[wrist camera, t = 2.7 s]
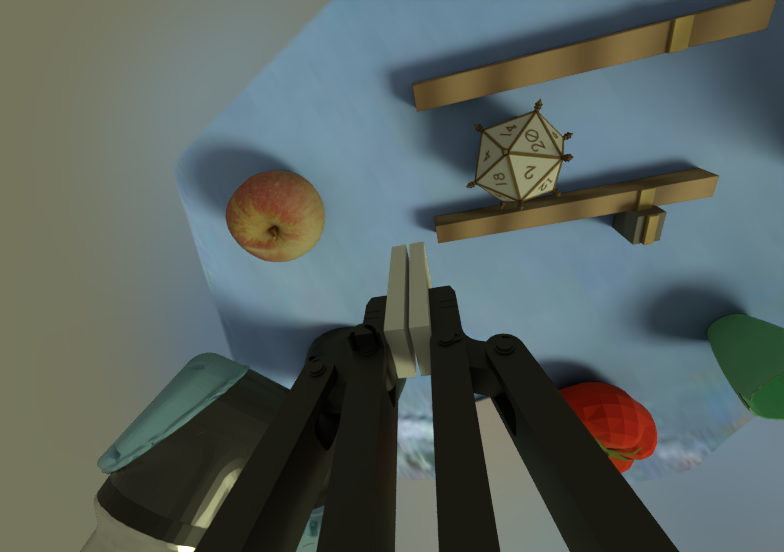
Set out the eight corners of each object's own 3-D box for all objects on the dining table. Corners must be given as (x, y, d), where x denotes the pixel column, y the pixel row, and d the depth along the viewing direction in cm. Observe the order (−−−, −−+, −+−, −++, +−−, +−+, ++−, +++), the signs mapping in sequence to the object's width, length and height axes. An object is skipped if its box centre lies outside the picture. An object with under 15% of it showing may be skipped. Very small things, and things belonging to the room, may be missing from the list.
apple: (236, 198, 36) (196, 229, 29) (286, 141, 33) (253, 163, 26) (297, 251, 39) (274, 290, 33) (348, 205, 36) (334, 238, 29)
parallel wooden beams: (440, 255, 39) (443, 276, 35) (412, 82, 29) (412, 86, 26) (685, 214, 35) (718, 233, 31) (747, -2, 25) (805, -12, 21)
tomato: (590, 351, 46) (629, 415, 38) (650, 400, 52) (695, 465, 43) (510, 397, 53) (528, 460, 45) (570, 436, 58) (596, 499, 50)
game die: (480, 138, 35) (442, 112, 27) (571, 105, 30) (558, 62, 22) (493, 221, 35) (460, 222, 27) (584, 202, 31) (577, 196, 22)
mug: (668, 337, 44) (727, 402, 36) (742, 285, 39) (831, 347, 31) (737, 374, 48) (807, 442, 39) (814, 332, 42) (912, 398, 34)
